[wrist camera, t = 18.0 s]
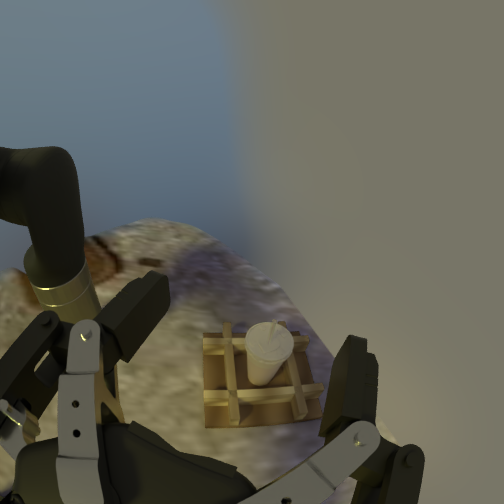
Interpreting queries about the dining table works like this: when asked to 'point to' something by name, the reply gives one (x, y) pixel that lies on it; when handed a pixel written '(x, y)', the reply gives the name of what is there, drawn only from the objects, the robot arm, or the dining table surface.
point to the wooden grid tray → (252, 396)
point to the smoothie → (266, 350)
